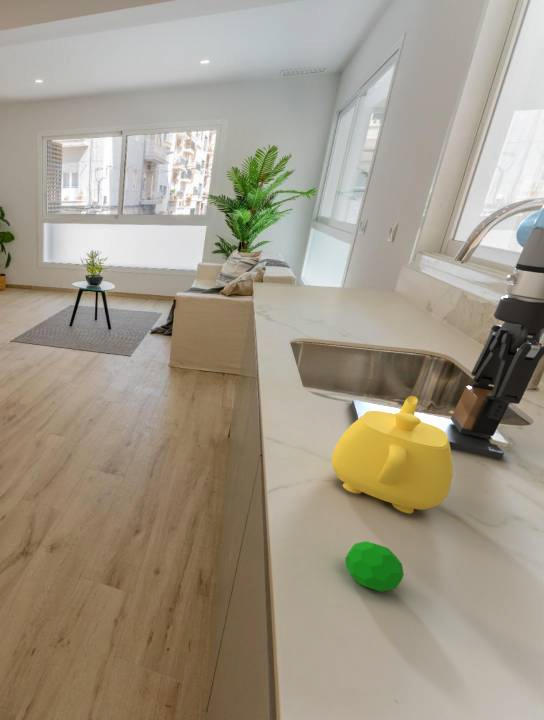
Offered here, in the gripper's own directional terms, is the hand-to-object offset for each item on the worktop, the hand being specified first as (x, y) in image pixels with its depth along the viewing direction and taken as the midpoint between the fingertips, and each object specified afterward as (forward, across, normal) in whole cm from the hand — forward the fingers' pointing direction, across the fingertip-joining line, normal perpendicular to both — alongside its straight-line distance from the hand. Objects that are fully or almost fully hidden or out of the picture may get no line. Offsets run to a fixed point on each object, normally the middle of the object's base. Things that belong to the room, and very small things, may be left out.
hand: (475, 424), depth 77 cm
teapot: (+3, +27, -17) cm, 32 cm away
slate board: (+3, +2, -8) cm, 8 cm away
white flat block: (+1, -2, +2) cm, 4 cm away
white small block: (+1, +2, +2) cm, 4 cm away
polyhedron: (+3, +49, -21) cm, 53 cm away
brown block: (+1, 0, 0) cm, 1 cm away
